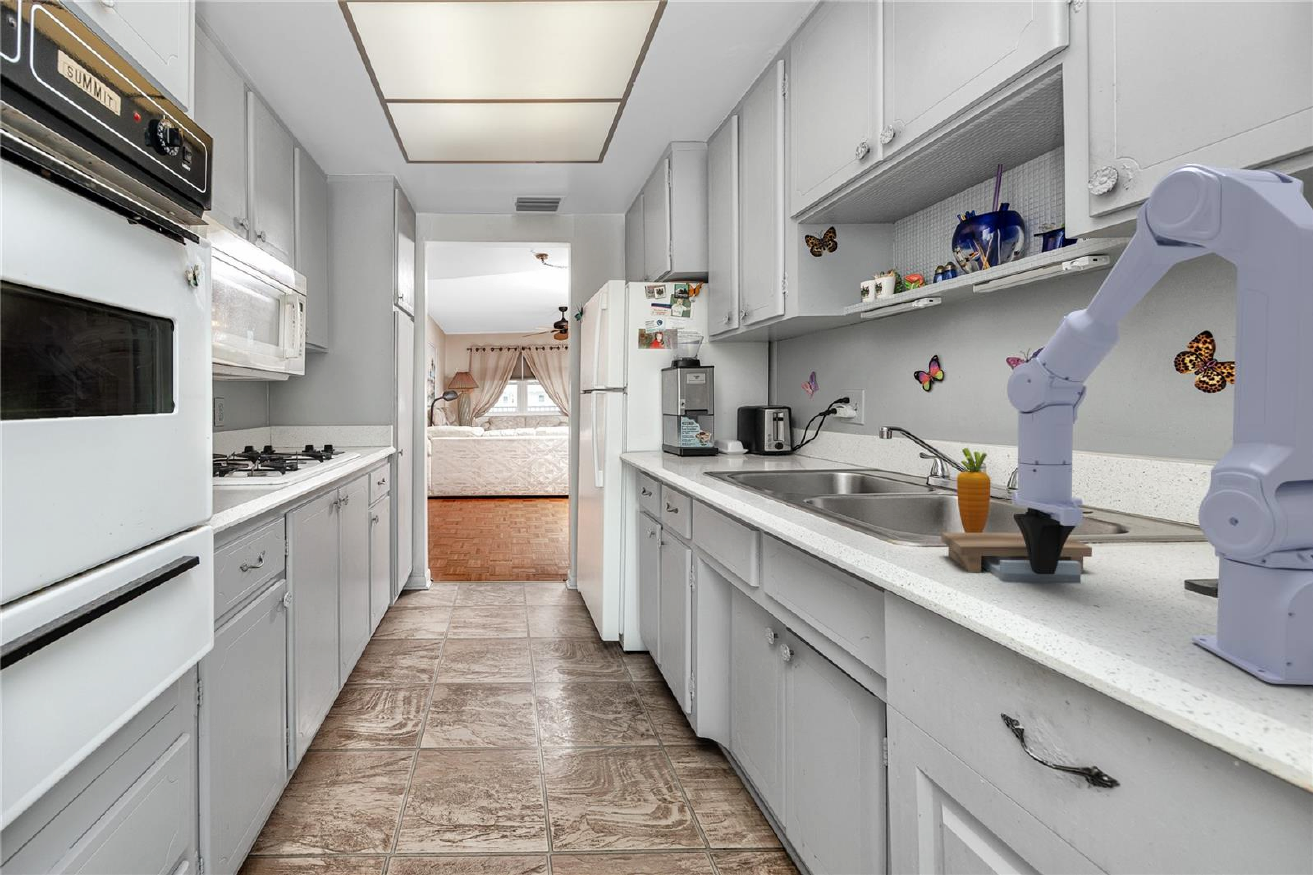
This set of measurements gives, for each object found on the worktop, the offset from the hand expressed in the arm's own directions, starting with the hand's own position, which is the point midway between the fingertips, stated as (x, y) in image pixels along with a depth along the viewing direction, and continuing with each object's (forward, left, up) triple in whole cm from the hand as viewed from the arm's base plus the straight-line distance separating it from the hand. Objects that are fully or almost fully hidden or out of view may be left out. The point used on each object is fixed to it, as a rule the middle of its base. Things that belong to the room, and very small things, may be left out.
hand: (1043, 572), depth 81 cm
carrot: (+22, +1, -2) cm, 22 cm away
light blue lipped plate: (+7, 0, -2) cm, 7 cm away
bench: (+10, 0, -1) cm, 10 cm away
